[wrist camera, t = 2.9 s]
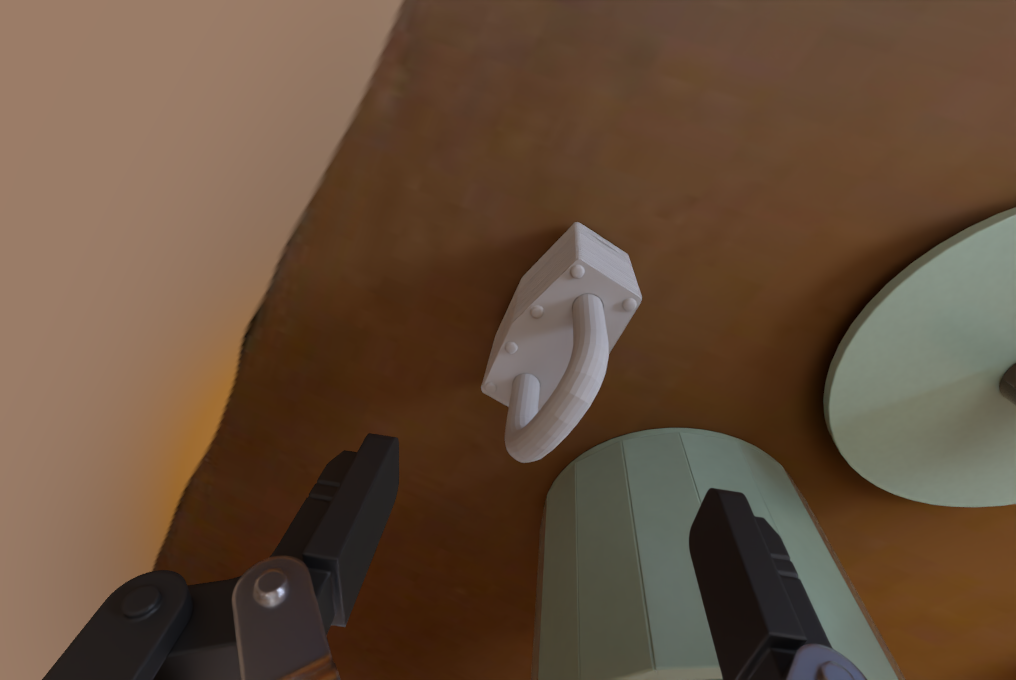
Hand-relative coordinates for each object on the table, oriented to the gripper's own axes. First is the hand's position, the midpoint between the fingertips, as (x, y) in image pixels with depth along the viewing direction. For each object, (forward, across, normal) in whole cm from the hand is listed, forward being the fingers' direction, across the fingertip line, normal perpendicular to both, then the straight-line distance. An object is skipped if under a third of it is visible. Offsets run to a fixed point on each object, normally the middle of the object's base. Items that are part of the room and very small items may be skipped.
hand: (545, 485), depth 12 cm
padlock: (+12, 0, 0) cm, 12 cm away
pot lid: (+11, -21, 0) cm, 24 cm away
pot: (+12, -9, +14) cm, 21 cm away
